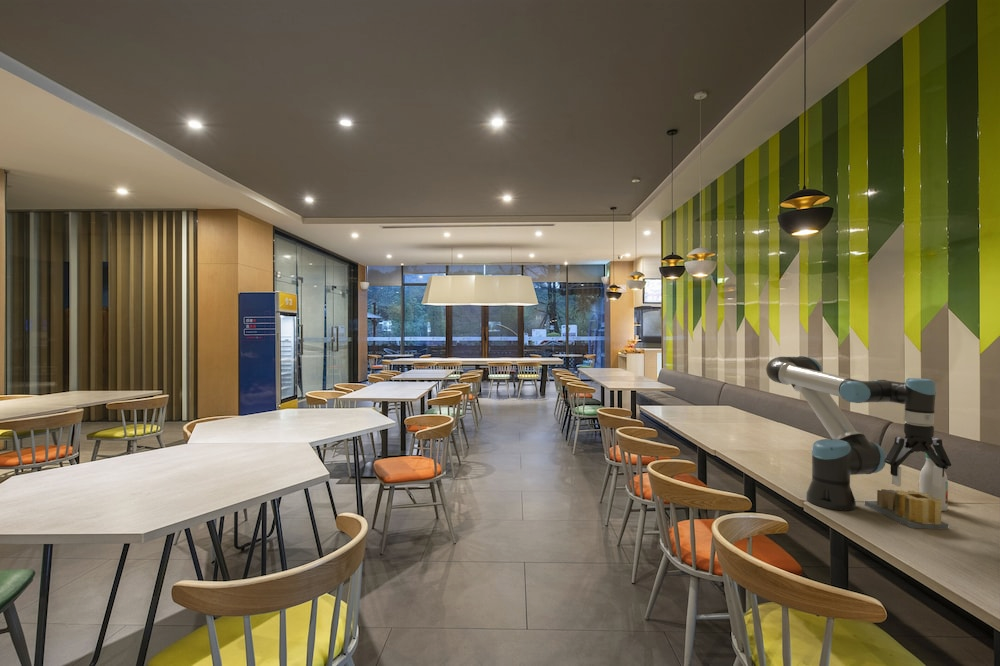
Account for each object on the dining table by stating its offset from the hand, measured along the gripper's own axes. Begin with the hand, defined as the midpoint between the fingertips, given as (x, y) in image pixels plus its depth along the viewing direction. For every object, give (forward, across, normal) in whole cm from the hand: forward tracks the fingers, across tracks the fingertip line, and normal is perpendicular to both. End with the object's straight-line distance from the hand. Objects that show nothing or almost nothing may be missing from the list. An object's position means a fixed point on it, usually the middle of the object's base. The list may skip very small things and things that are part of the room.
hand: (916, 485), depth 156 cm
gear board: (+12, 0, +5) cm, 13 cm away
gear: (+11, 0, -1) cm, 11 cm away
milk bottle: (+13, +18, +14) cm, 26 cm away
